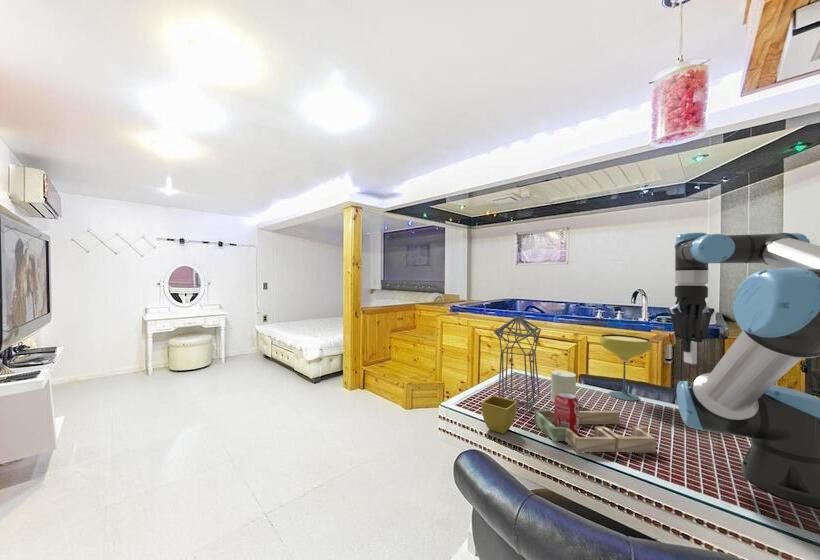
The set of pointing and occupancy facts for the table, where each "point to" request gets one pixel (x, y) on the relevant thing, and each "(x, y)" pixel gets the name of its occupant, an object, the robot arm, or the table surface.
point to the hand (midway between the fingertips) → (690, 362)
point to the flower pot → (499, 413)
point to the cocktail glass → (625, 355)
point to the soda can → (566, 411)
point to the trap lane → (597, 433)
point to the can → (562, 383)
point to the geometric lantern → (498, 332)
